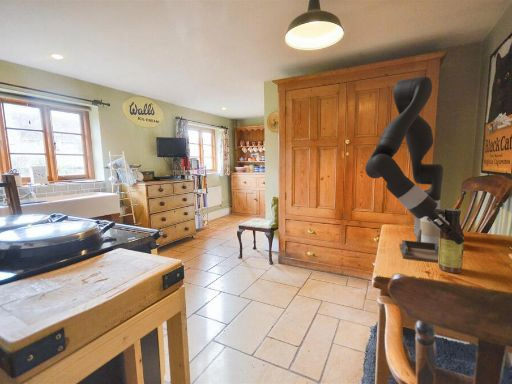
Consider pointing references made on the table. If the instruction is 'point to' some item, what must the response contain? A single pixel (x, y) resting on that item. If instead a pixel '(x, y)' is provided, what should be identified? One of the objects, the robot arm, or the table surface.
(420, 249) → the keeper cradle
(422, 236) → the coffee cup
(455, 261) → the sauce bottle
